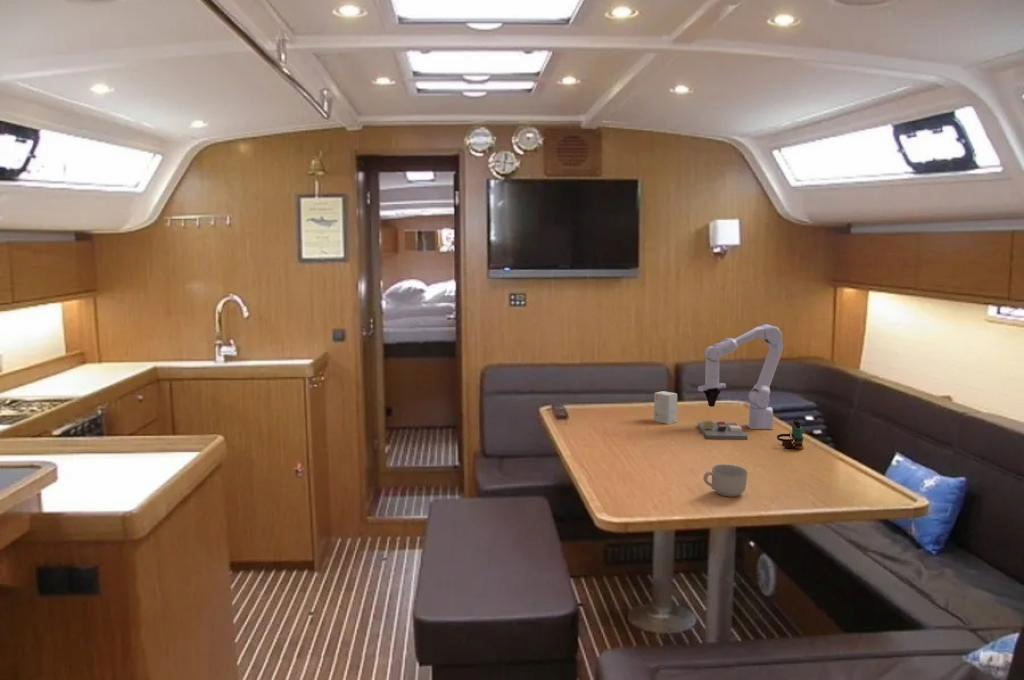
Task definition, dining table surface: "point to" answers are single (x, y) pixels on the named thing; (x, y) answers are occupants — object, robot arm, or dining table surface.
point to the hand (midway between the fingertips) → (711, 406)
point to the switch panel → (722, 432)
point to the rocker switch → (721, 425)
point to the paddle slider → (707, 424)
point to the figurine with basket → (793, 436)
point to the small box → (665, 407)
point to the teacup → (727, 479)
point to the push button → (735, 428)
